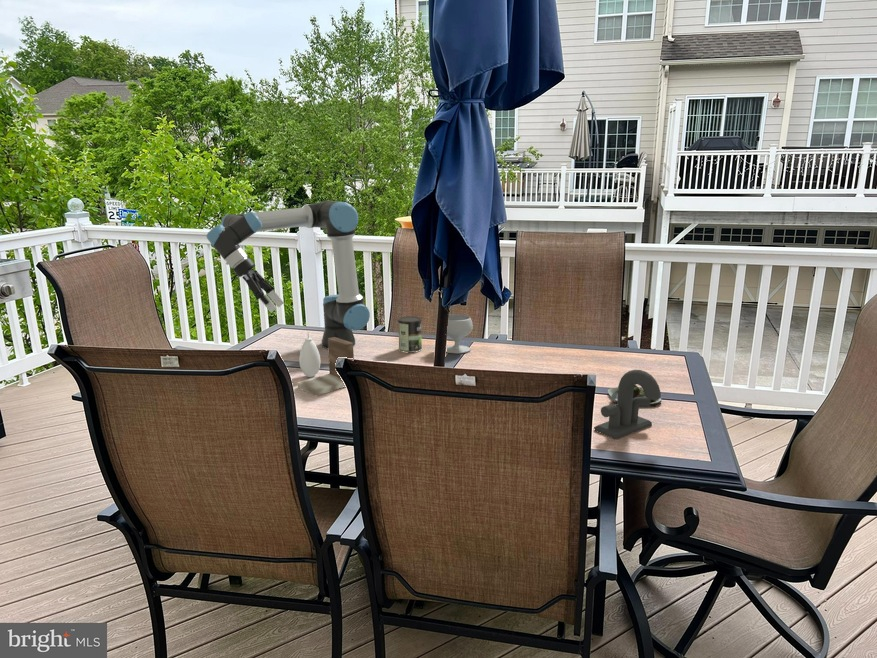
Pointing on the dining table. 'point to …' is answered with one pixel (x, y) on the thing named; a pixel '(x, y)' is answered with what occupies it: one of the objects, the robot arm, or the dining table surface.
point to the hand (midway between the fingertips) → (277, 307)
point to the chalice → (458, 332)
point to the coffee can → (410, 334)
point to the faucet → (629, 405)
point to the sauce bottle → (309, 358)
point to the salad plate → (636, 393)
